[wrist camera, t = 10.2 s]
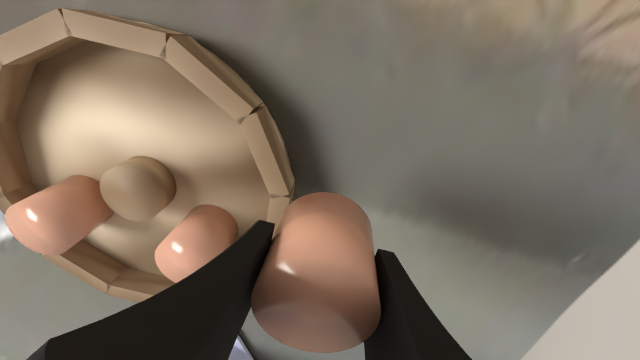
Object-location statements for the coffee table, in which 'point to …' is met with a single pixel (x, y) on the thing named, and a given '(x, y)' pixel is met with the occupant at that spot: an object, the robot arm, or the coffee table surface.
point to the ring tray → (134, 137)
